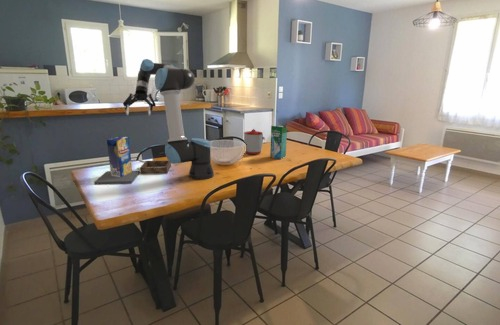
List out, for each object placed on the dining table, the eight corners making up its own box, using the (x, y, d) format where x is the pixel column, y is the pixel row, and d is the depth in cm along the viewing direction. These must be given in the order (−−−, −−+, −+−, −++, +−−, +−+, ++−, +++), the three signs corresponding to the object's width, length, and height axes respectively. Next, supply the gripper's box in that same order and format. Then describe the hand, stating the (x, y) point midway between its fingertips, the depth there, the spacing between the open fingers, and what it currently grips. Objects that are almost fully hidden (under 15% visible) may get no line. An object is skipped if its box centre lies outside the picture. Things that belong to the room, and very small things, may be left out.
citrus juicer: (265, 155, 235) (265, 130, 229) (243, 155, 235) (243, 130, 230) (264, 151, 250) (265, 127, 244) (243, 150, 250) (244, 127, 245)
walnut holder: (171, 166, 203) (170, 160, 202) (167, 173, 188) (166, 167, 187) (146, 166, 202) (145, 160, 201) (140, 173, 186) (139, 167, 185)
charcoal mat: (140, 172, 188) (139, 170, 188) (131, 183, 169) (131, 181, 168) (107, 173, 186) (106, 171, 185) (94, 184, 167) (94, 181, 166)
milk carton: (285, 157, 232) (287, 125, 225) (280, 159, 225) (282, 126, 218) (275, 155, 237) (276, 124, 230) (270, 157, 230) (271, 125, 223)
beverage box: (132, 171, 185) (128, 137, 179) (121, 177, 175) (117, 140, 169) (122, 170, 187) (119, 136, 181) (111, 176, 176) (106, 139, 170)
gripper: (161, 93, 204) (159, 117, 194) (124, 92, 202) (119, 117, 191) (159, 85, 198) (157, 110, 187) (121, 85, 195) (116, 110, 185)
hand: (138, 114), depth 189 cm, fingers open, 13 cm apart
